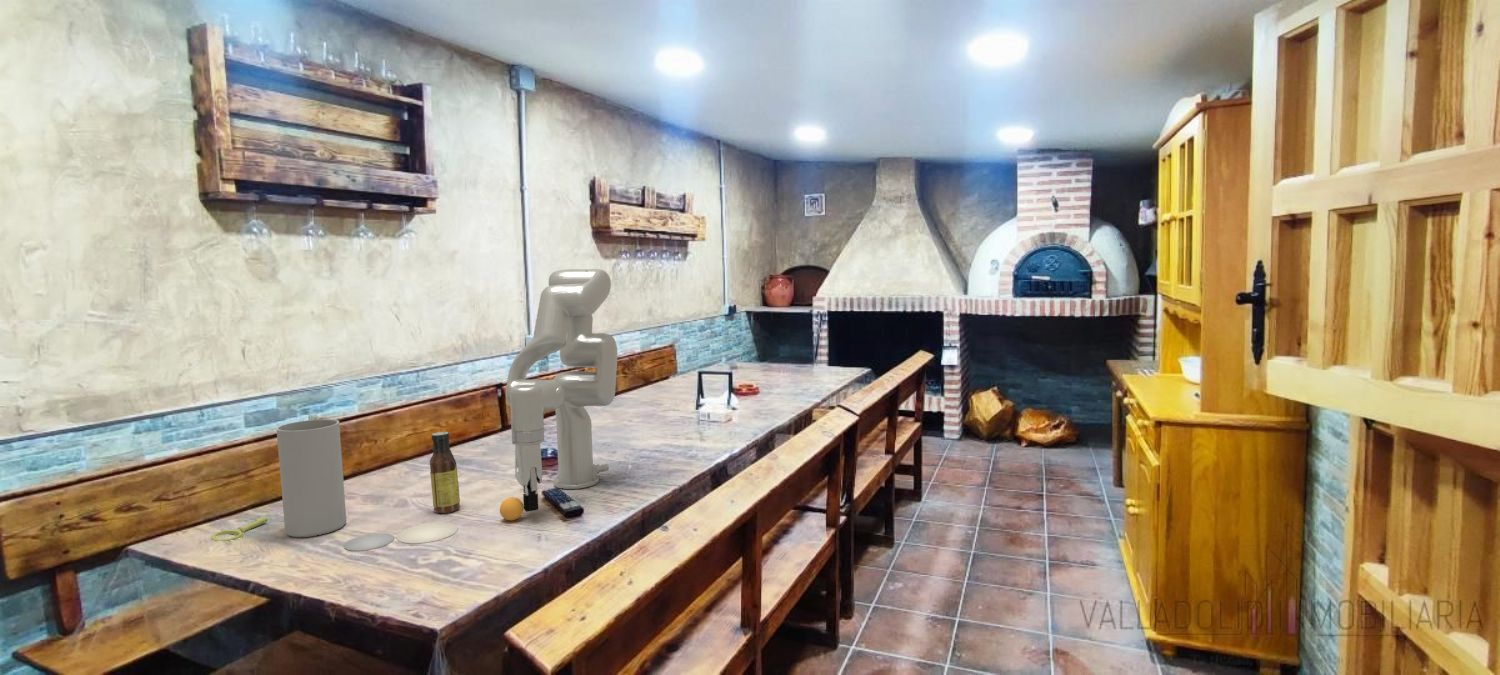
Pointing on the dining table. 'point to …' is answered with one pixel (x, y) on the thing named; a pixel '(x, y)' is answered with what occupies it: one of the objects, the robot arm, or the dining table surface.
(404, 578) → the dining table surface
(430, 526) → the disc
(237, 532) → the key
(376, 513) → the dining table surface
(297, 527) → the cylinder vase
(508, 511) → the ball
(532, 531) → the dining table surface
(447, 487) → the sauce bottle
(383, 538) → the disc
